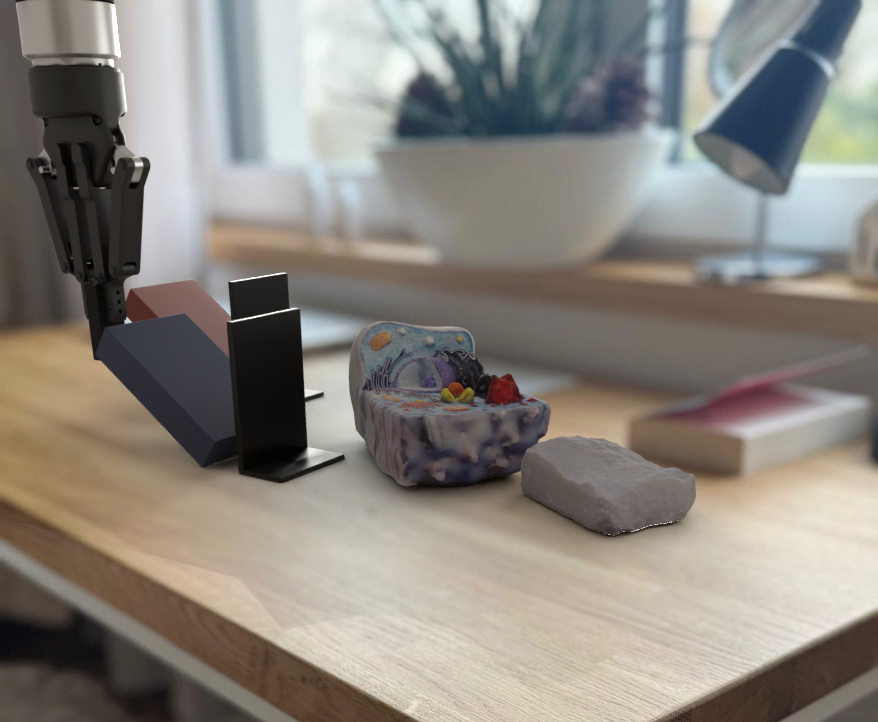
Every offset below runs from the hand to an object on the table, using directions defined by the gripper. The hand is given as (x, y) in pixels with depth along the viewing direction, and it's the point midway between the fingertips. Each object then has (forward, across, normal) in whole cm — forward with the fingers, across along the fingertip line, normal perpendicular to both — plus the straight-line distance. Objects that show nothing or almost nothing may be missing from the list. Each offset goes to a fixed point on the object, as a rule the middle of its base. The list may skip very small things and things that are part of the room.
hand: (111, 357), depth 96 cm
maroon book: (+3, +7, -17) cm, 19 cm away
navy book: (+3, -9, 0) cm, 9 cm away
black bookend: (+7, -5, -17) cm, 19 cm away
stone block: (+7, -47, -5) cm, 48 cm away
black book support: (+7, -20, 0) cm, 22 cm away
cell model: (+7, -30, -7) cm, 31 cm away
